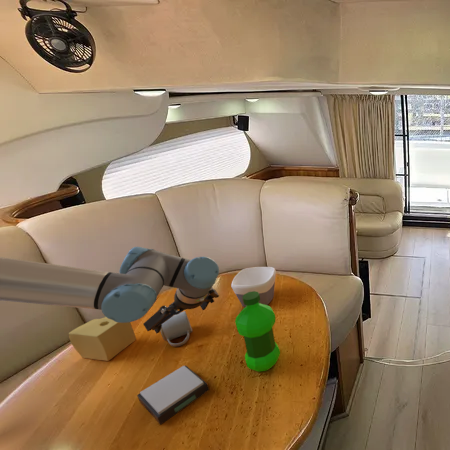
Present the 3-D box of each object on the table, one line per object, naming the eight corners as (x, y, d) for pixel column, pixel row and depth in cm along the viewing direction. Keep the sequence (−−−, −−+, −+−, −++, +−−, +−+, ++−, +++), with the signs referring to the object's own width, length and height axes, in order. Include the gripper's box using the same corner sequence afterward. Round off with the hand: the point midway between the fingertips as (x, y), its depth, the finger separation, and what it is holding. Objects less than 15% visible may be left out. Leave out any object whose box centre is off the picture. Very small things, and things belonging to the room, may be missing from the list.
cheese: (111, 336, 107) (101, 312, 103) (139, 339, 105) (130, 315, 102) (78, 359, 97) (66, 333, 93) (108, 363, 96) (97, 337, 92)
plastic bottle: (239, 367, 94) (222, 297, 85) (271, 347, 102) (258, 281, 93) (257, 384, 89) (241, 311, 80) (289, 361, 96) (278, 293, 87)
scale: (160, 425, 77) (157, 416, 76) (139, 401, 83) (136, 392, 82) (209, 390, 87) (207, 381, 86) (187, 371, 93) (185, 363, 92)
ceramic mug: (162, 334, 107) (156, 316, 104) (190, 324, 112) (184, 306, 109) (166, 352, 100) (160, 333, 97) (196, 340, 105) (190, 322, 102)
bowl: (245, 290, 133) (240, 267, 129) (282, 287, 135) (279, 265, 131) (231, 312, 119) (225, 287, 115) (273, 309, 121) (268, 285, 117)
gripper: (147, 328, 77) (139, 351, 90) (241, 282, 97) (224, 307, 110) (131, 303, 78) (126, 329, 91) (228, 263, 97) (212, 289, 110)
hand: (180, 317), depth 100 cm, fingers open, 13 cm apart
